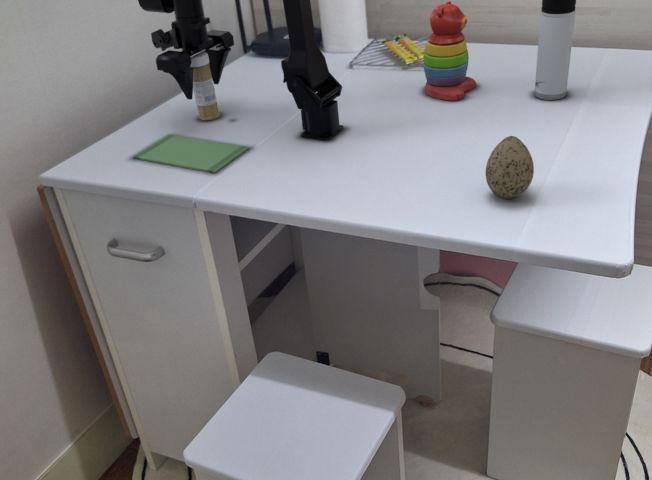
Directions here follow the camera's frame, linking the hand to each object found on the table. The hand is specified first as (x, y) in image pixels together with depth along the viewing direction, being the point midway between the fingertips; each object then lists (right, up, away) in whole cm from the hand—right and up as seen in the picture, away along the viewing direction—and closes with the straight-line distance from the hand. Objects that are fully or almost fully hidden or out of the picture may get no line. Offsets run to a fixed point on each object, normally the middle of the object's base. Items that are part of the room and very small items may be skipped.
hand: (203, 91), depth 145 cm
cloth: (0, -15, -12) cm, 19 cm away
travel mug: (+71, -2, -4) cm, 72 cm away
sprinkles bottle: (+1, -5, +3) cm, 6 cm away
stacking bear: (+52, +1, +3) cm, 52 cm away
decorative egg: (+54, -27, -37) cm, 71 cm away
